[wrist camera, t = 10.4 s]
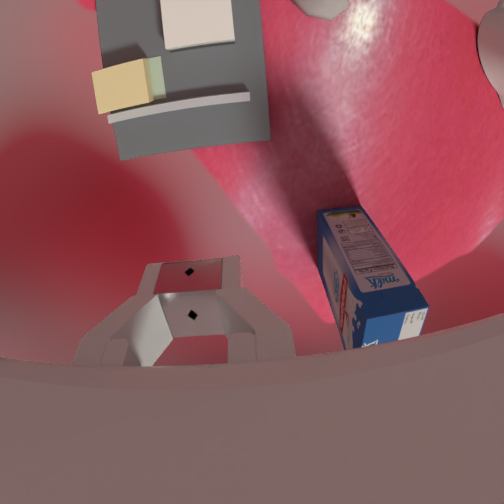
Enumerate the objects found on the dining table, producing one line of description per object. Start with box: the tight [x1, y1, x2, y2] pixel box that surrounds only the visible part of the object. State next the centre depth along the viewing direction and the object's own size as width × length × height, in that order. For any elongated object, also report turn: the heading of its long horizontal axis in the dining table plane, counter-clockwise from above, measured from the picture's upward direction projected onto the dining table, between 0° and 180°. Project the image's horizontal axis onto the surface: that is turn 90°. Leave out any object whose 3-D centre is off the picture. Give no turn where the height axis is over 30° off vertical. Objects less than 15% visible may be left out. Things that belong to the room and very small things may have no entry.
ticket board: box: [96, 0, 271, 160], centre depth 29 cm, size 18×22×4 cm
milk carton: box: [317, 206, 429, 350], centre depth 36 cm, size 10×6×20 cm, turn 7°
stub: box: [92, 58, 154, 114], centre depth 29 cm, size 6×5×2 cm
